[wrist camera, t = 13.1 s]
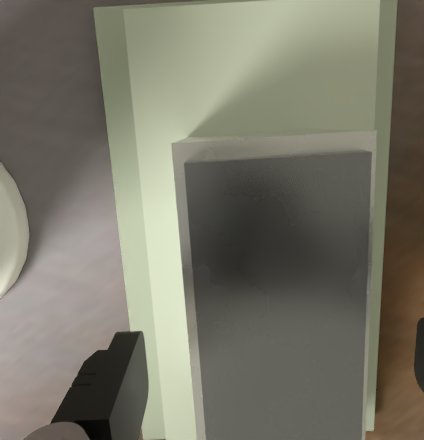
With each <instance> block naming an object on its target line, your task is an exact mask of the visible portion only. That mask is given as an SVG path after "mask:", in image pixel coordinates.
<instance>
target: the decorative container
mask: <svg viewBox="0 0 424 440" xmlns="http://www.w3.org/2000/svg"><path fill="white" fill-rule="evenodd" d="M29 236H30V233H29V226H28V219H27V212H26V207H25V204H24V202H23V199H22V197H21V195H20V192H19V190H18V187H17V185H16V182H15V181H14V179H13V178H12V177H11V175H10V174H9V173H8V171H7V170H6V168H5V167H4V166H3V164H2V163H1V162H0V299H1V298H2V296H3V295H4V294H5V293H6V292H7V291H8V290H9V289H10V288H11V286H12V285H13V284H14V283H15V282H16V281H17V279H18V276H19V274H20V272H21V270H22V268H23V265H24V263H25V261H26V258H27V251H28V243H29Z"/></svg>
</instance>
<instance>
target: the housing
mask: <svg viewBox="0 0 424 440" xmlns="http://www.w3.org/2000/svg"><path fill="white" fill-rule="evenodd" d="M376 142H377V130H345V129H307V130H292V131H276V132H261V133H245V134H230V135H214V136H199V137H186V138H184V139H181V140H179V141H176V142H174V143H171V147H172V159H173V170H174V182H175V193H176V205H177V216H178V228H179V239H180V251H181V263H182V274H183V286H184V297H185V309H186V320H187V332H188V343H189V355H190V366H191V378H192V389H193V401H194V412H195V424H196V435H197V440H365V429H366V402H367V376H368V350H369V324H370V298H371V272H372V246H373V220H374V194H375V168H376Z"/></svg>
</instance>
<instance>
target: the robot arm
mask: <svg viewBox="0 0 424 440" xmlns="http://www.w3.org/2000/svg"><path fill="white" fill-rule="evenodd" d="M414 371H415V376H416V380H417V382H418V385H419V387H420V388H421V390H422V391H423V392H424V318H421V319H420V320H419V322H418V325H417V335H416V349H415V362H414ZM148 391H149V379H148V369H147V359H146V350H145V340H144V334H143V332H142V331H127V332H116V334H115V335H114V338H113V340H112V342H111V344H110V346H109V348H108V350H97V351H96V352H95V353H94V354H93V355H92V356H90V357H89V358H88V359H87V360H86V361H84V363H83V365H82V367H81V369H80V370H79V372H78V374H77V377H76V378H75V379H74V381H73V383H72V387H70V388H69V390H68V392H67V394H66V396H65V398H64V399H63V401H62V403H61V405H60V407H59V408H58V410H57V412H56V414H55V416H54V418H53V419H52V421H51V423H50V424H49V425H46V426H44V427H41V428H39V429H37V430H36V431H34V432H32V433H31V434H29V435H28V436H27V437H26V438H25V439H24V440H138V438H139V434H140V430H141V426H142V422H143V417H144V413H145V409H146V405H147V400H148Z"/></svg>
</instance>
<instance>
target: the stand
mask: <svg viewBox="0 0 424 440" xmlns="http://www.w3.org/2000/svg"><path fill="white" fill-rule="evenodd" d="M93 12H94V20H95V29H96V38H97V46H98V55H99V64H100V72H101V81H102V89H103V98H104V107H105V115H106V124H107V133H108V141H109V150H110V158H111V167H112V176H113V184H114V193H115V202H116V210H117V219H118V227H119V236H120V245H121V253H122V262H123V271H124V279H125V288H126V296H127V305H128V314H129V322H130V331H142V332H143V334H144V340H145V350H146V359H147V369H148V379H149V391H148V400H147V405H146V409H145V413H144V417H143V422H142V434H143V440H150V439H166V440H197V435H196V424H195V412H194V401H193V389H192V378H191V366H190V355H189V343H188V332H187V320H186V309H185V297H184V286H183V274H182V263H181V251H180V239H179V228H178V216H177V205H176V193H175V182H174V170H173V159H172V147H171V143H174V142H176V141H179V140H181V139H184V138H186V137H199V136H214V135H230V134H245V133H261V132H276V131H292V130H307V129H345V130H377V142H376V168H375V194H374V220H373V246H372V272H371V298H370V324H369V350H368V376H367V402H366V429H365V431H374V415H375V397H376V379H377V361H378V343H379V325H380V307H381V289H382V271H383V253H384V235H385V217H386V199H387V181H388V163H389V144H390V126H391V108H392V90H393V72H394V54H395V36H396V18H397V0H204V1H188V2H172V3H155V4H139V5H123V6H107V7H93Z"/></svg>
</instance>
